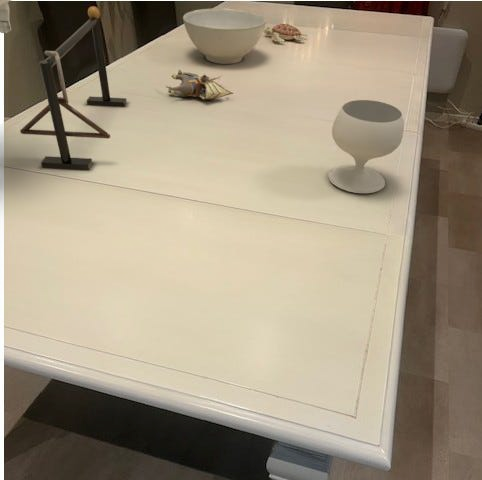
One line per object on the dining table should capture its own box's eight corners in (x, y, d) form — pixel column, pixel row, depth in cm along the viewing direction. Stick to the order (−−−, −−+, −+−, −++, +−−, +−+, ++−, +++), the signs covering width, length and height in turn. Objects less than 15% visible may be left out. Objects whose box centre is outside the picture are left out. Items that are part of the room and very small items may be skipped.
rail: (88, 170, 103) (69, 65, 89) (42, 167, 103) (14, 62, 89) (125, 104, 130) (114, 17, 116) (88, 102, 130) (73, 14, 116)
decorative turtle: (268, 30, 193) (269, 16, 189) (309, 35, 190) (311, 21, 187) (258, 42, 180) (258, 27, 176) (301, 47, 177) (303, 32, 174)
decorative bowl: (256, 47, 175) (258, 8, 167) (269, 71, 156) (272, 29, 148) (182, 46, 172) (181, 7, 164) (186, 71, 153) (185, 28, 144)
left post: (124, 106, 129) (112, 8, 114) (87, 104, 129) (70, 6, 114) (126, 102, 131) (115, 6, 116) (90, 100, 131) (73, 3, 116)
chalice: (319, 190, 100) (331, 118, 90) (328, 161, 110) (340, 94, 100) (387, 202, 98) (407, 129, 88) (390, 171, 108) (409, 103, 98)
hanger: (110, 139, 102) (97, 54, 90) (20, 134, 102) (-4, 48, 90) (111, 137, 102) (98, 52, 91) (21, 132, 102) (-2, 47, 91)
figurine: (196, 62, 143) (246, 74, 137) (196, 84, 147) (244, 96, 141) (155, 75, 129) (208, 89, 123) (155, 99, 133) (207, 113, 127)
